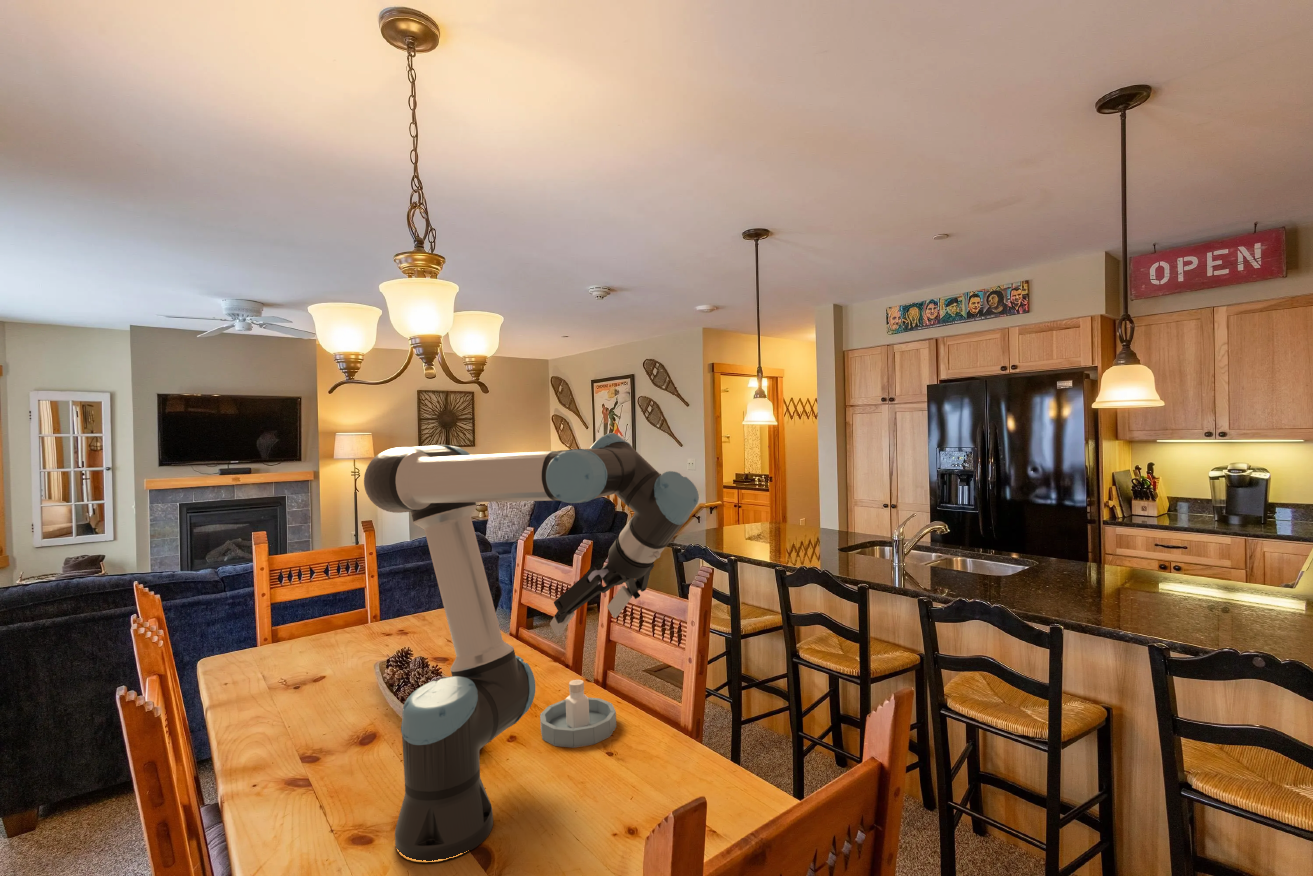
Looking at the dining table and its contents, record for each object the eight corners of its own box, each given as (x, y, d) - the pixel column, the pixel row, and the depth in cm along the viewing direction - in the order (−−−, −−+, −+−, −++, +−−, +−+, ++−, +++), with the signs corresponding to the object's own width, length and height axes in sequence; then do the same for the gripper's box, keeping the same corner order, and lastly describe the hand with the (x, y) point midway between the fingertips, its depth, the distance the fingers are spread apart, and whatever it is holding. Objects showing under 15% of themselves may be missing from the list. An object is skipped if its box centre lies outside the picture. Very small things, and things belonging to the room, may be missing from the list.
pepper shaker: (574, 731, 134) (573, 687, 134) (565, 725, 137) (563, 682, 137) (590, 725, 137) (589, 682, 137) (581, 719, 140) (579, 677, 140)
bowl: (571, 755, 126) (571, 737, 126) (526, 731, 137) (526, 715, 137) (630, 726, 137) (629, 710, 137) (584, 706, 148) (583, 691, 148)
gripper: (590, 579, 96) (537, 656, 106) (697, 553, 113) (642, 621, 124) (568, 541, 99) (518, 619, 110) (674, 522, 117) (623, 590, 128)
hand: (584, 620), depth 117 cm, fingers open, 13 cm apart
